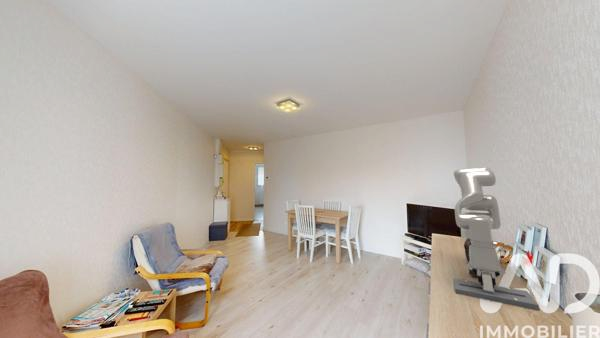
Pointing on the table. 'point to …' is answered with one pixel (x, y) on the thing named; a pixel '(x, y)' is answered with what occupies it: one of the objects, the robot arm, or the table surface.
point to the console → (496, 294)
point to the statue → (466, 246)
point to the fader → (487, 282)
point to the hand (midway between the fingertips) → (487, 284)
